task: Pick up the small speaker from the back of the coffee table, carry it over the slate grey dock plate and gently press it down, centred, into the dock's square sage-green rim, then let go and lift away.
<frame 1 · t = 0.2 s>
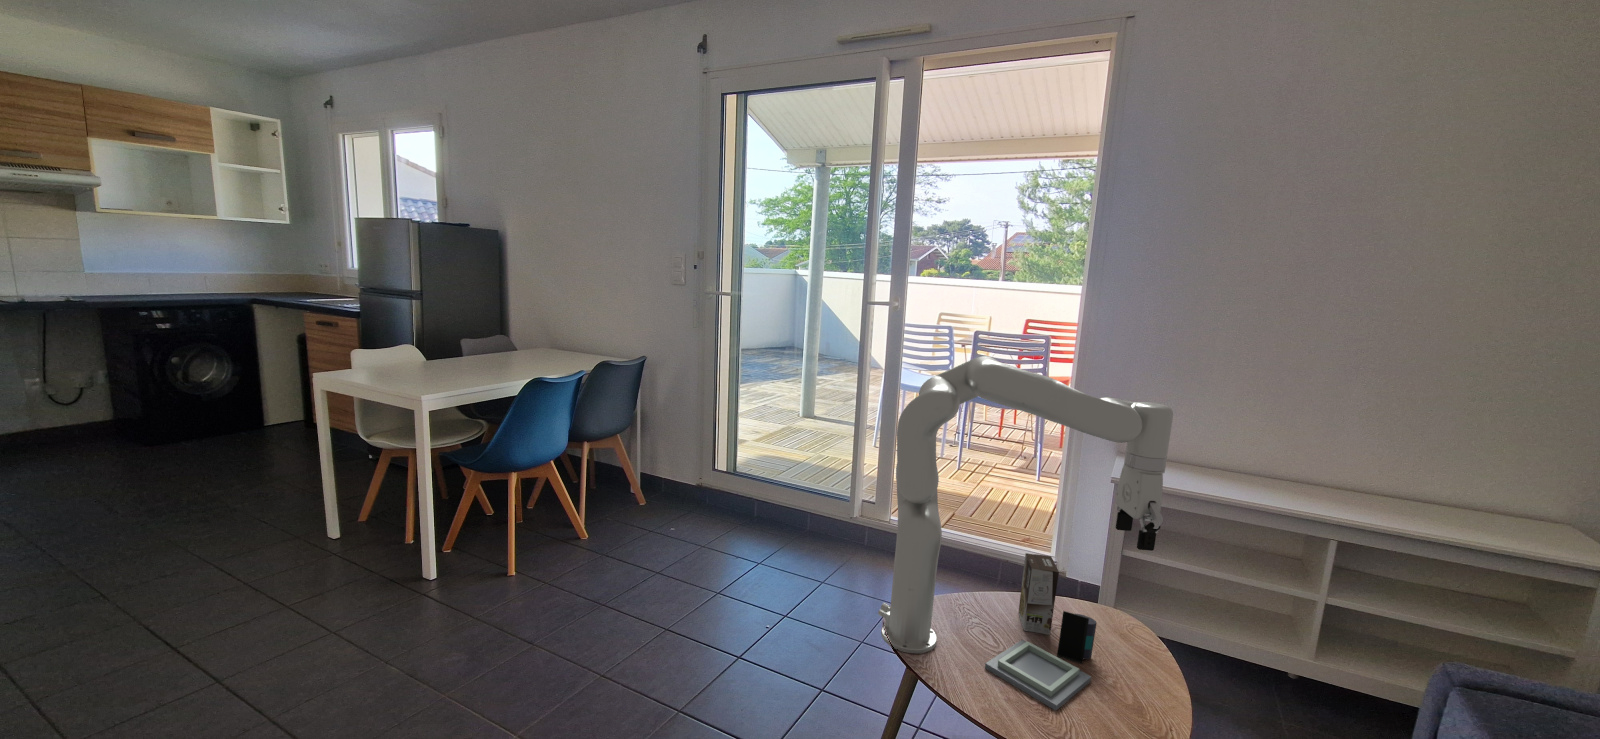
hand: (1133, 539, 131), 30 cm above the table, tool pointing down, fingers open, 9 cm apart
dock: (1037, 674, 131), on the table
coffee box: (1033, 623, 152), on the table
speaker: (1073, 654, 140), on the table
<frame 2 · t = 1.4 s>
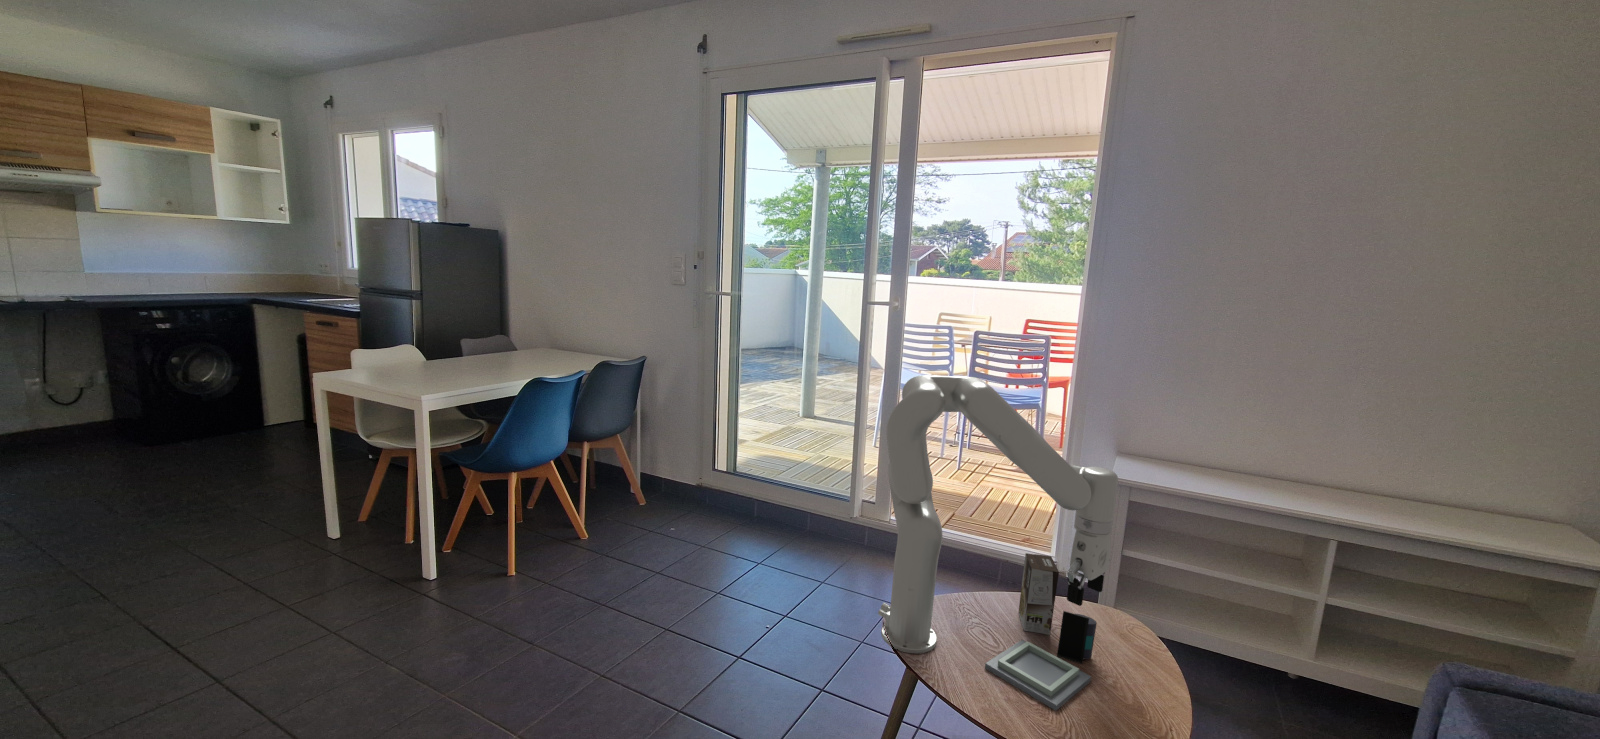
hand: (1084, 596, 138), 14 cm above the table, tool pointing down, fingers open, 9 cm apart
nothing on the table moved.
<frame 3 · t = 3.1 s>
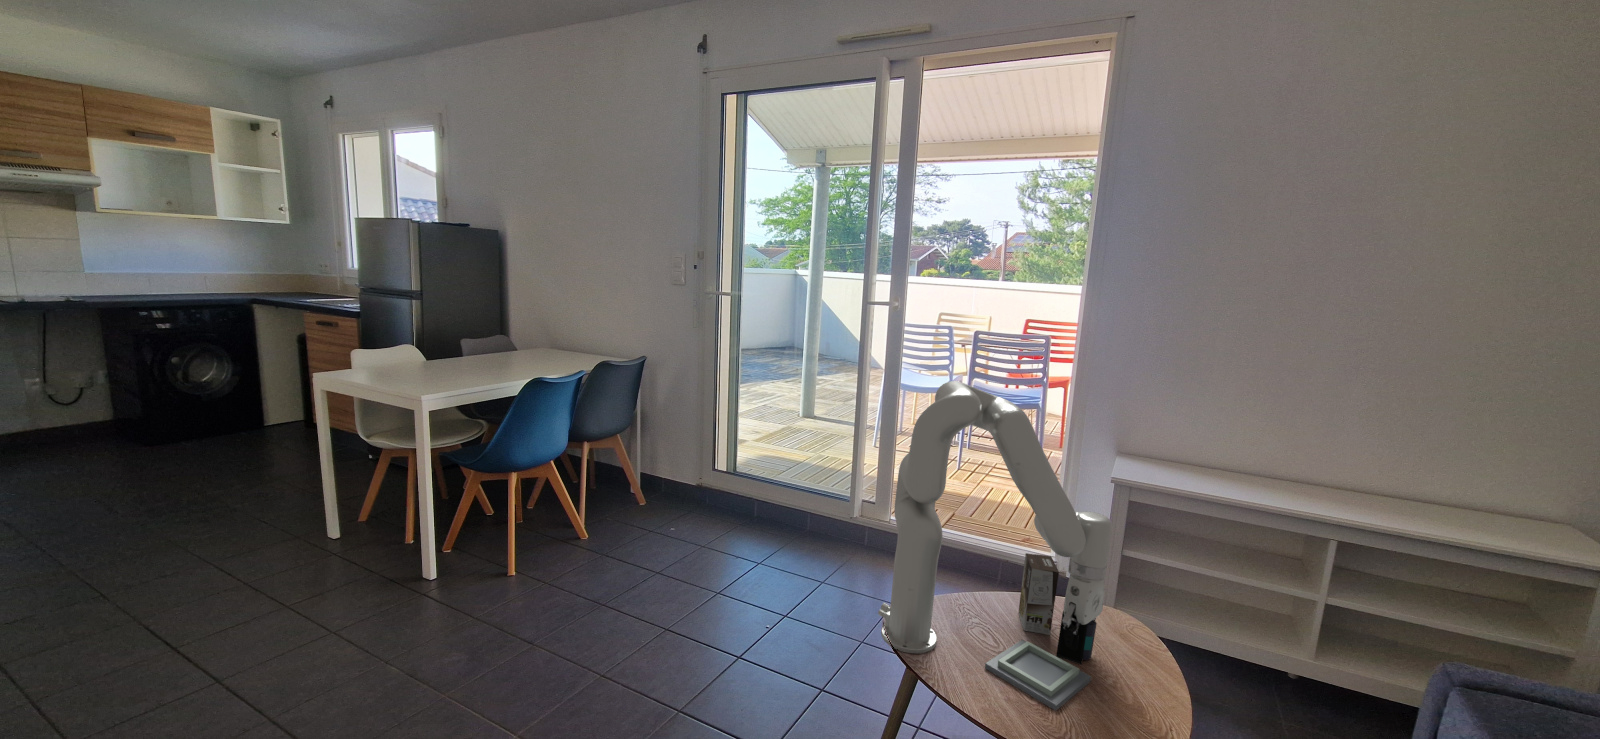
hand: (1077, 641, 140), 3 cm above the table, tool pointing down, fingers closed on speaker, 6 cm apart
speaker: (1073, 654, 140), on the table, touching gripper
everything else where it was.
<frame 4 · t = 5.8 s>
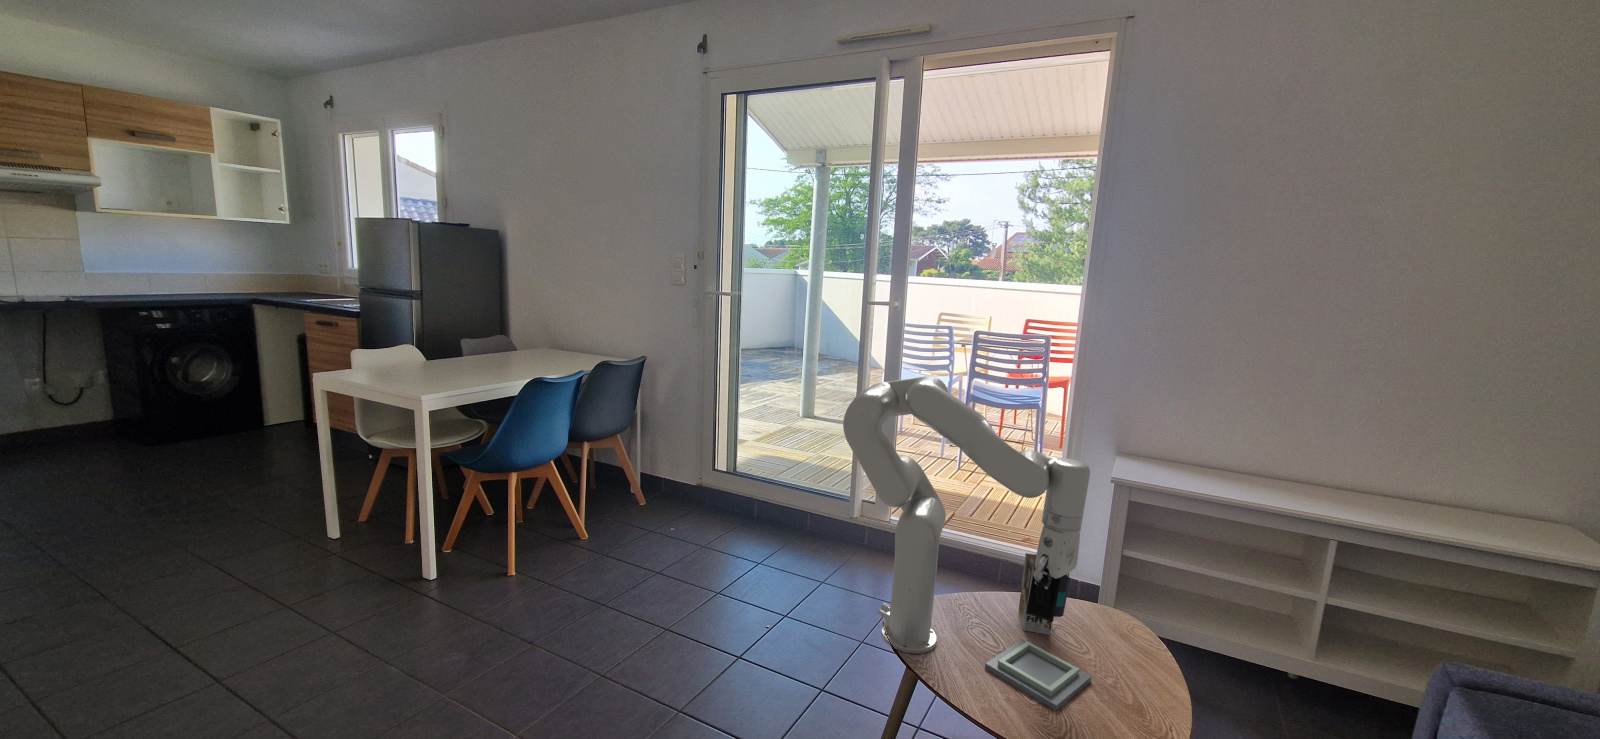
hand: (1049, 597, 130), 17 cm above the table, tool pointing down, fingers closed on speaker, 6 cm apart
speaker: (1044, 612, 130), point 14 cm above the table, touching gripper
everything else where it was.
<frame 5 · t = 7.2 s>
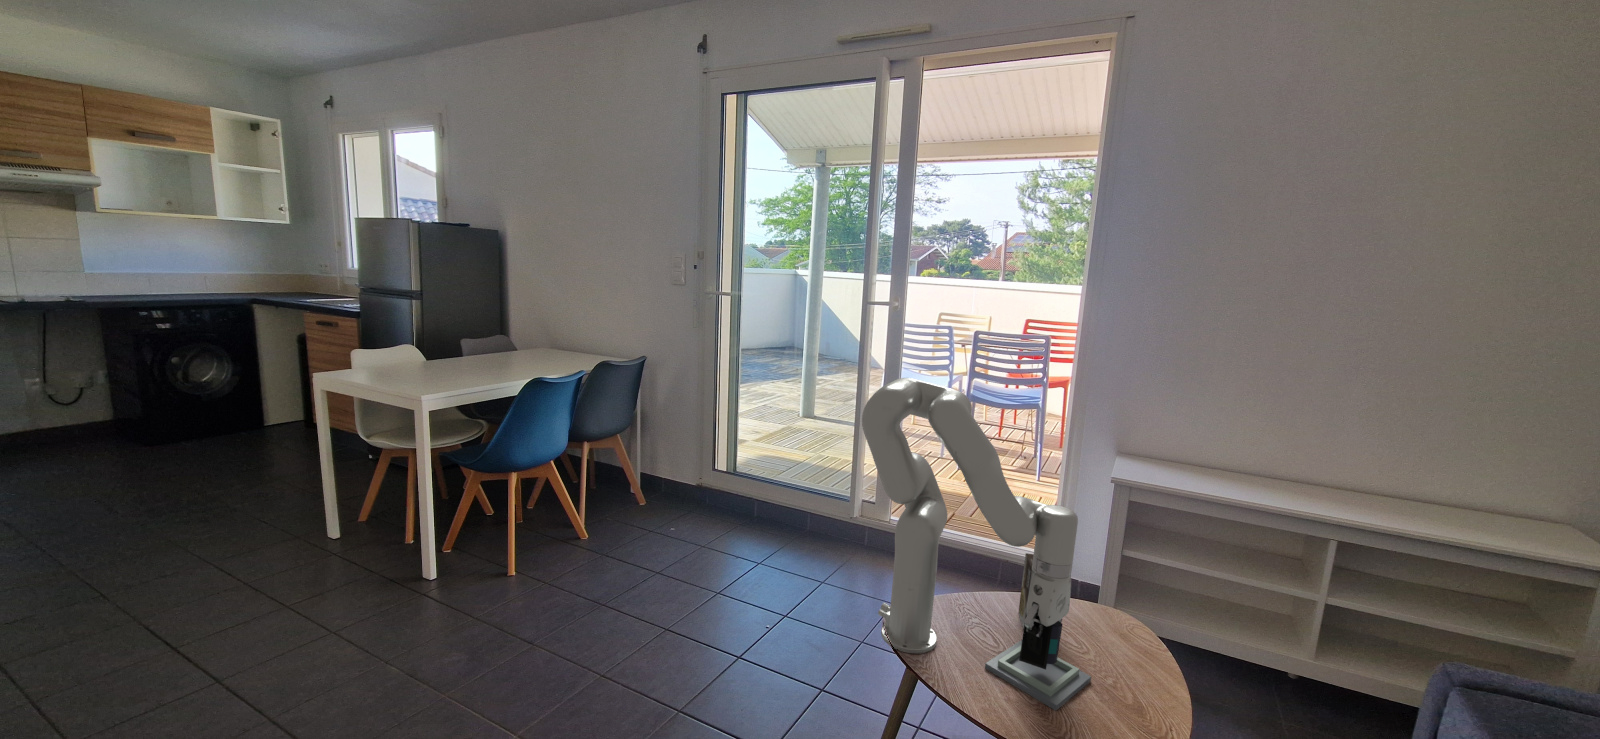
hand: (1042, 644, 130), 7 cm above the table, tool pointing down, fingers closed on speaker, 6 cm apart
speaker: (1038, 658, 130), point 4 cm above the table, touching gripper
everything else where it was.
when the fingers open (4 cm above the table, at t = 8.3 s): speaker stays where it is, resting on dock.
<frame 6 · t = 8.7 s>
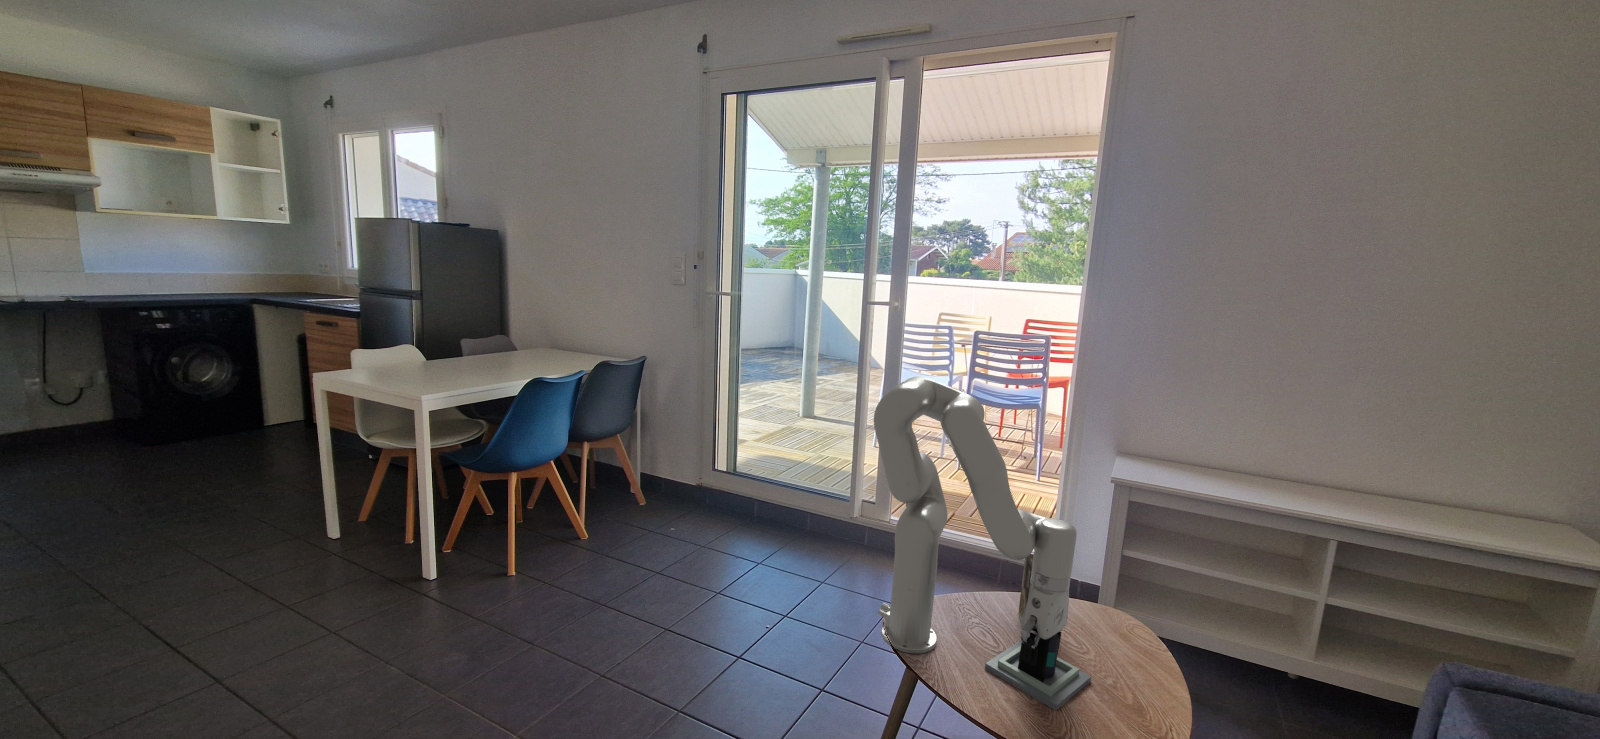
hand: (1040, 653, 131), 5 cm above the table, tool pointing down, fingers open, 9 cm apart
speaker: (1036, 671, 131), point 1 cm above the table, touching dock
everything else where it was.
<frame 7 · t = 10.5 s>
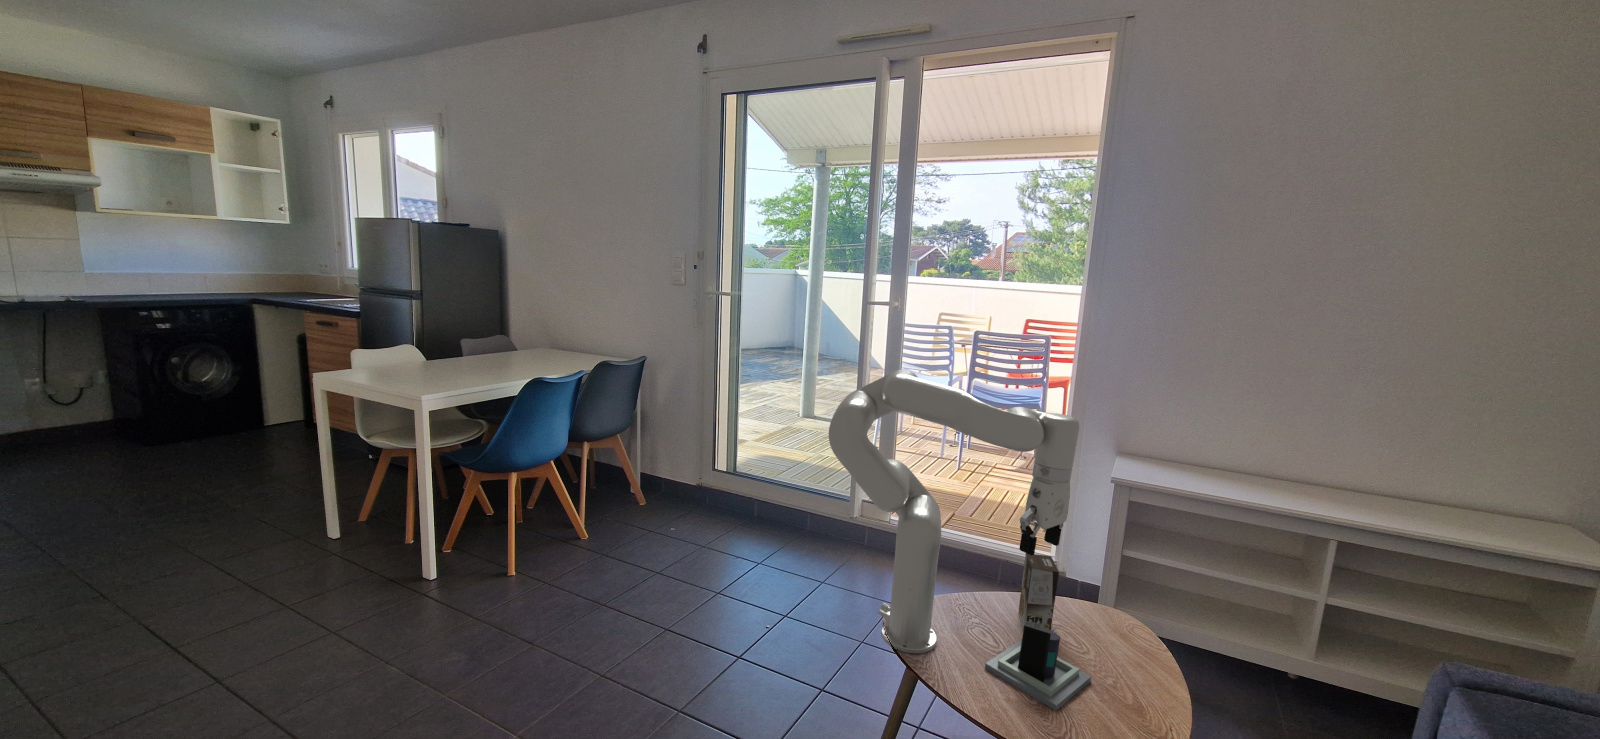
hand: (1039, 547, 133), 26 cm above the table, tool pointing down, fingers open, 9 cm apart
nothing on the table moved.
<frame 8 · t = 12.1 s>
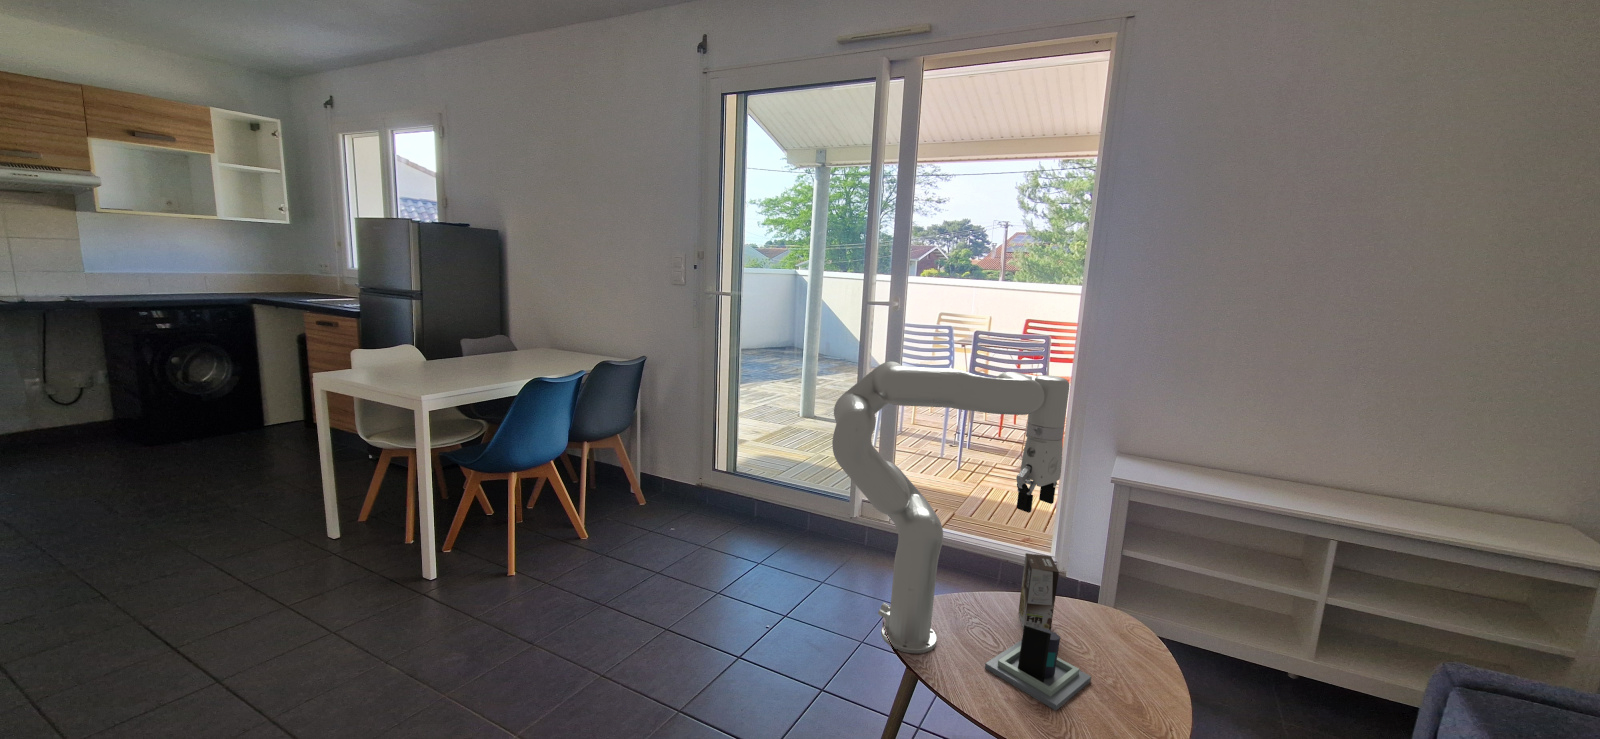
hand: (1035, 506, 138), 33 cm above the table, tool pointing down, fingers open, 9 cm apart
nothing on the table moved.
at the end: speaker 0.5 cm off-centre on the dock, point 1.0 cm above the dock's base; speaker tilted 1°; the gripper is holding nothing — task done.
